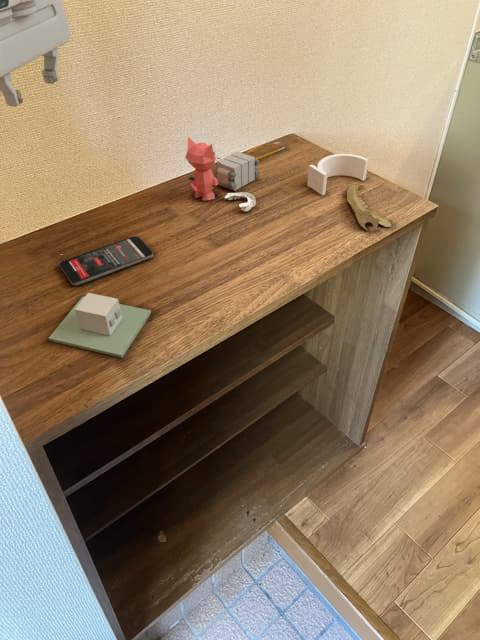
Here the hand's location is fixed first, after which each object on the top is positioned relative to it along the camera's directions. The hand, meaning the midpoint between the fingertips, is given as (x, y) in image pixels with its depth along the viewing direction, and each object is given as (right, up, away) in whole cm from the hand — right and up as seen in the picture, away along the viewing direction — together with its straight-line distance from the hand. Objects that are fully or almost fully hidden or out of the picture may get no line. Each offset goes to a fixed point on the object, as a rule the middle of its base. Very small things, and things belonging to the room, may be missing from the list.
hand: (34, 93), depth 77 cm
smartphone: (+7, -23, +15) cm, 28 cm away
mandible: (+51, -8, +26) cm, 58 cm away
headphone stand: (+45, -4, +31) cm, 55 cm away
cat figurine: (+23, -8, +31) cm, 39 cm away
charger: (+9, -34, +2) cm, 35 cm away
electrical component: (+34, +4, +36) cm, 50 cm away
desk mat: (+9, -35, +3) cm, 36 cm away
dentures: (+31, -10, +29) cm, 44 cm away
